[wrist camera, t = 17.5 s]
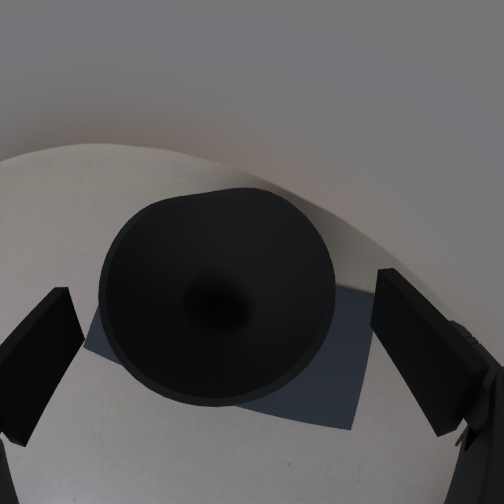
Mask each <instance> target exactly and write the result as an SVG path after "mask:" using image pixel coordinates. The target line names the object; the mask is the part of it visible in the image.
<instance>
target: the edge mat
mask: <svg viewBox="0 0 504 504" xmlns="http://www.w3.org/2000/svg"><path fill="white" fill-rule="evenodd" d="M373 303H374V296H373V295H369V294H365V293H362V292H358V291H354V290H350V289H346V288H342V287H338V286H336V298H335V309H334V314H333V318H332V323H331V326H330V328H329V331H328V333H327V336H326V339H325V340H324V342H323V344H322V346H321V348H320V349H319V351H318V353H317V354H316V356H315V357H314V358H313V360H312V361H311V362H310V363H309V365H308V366H307V367H306V368H305V369H304V370H303V371H302V372H301V373H300V374H299V375H298V376H297V377H296V378H295V379H293V380H292V381H291V382H289V383H288V384H286V385H285V386H283V387H282V388H281V389H279V390H277V391H275V392H273V393H271V394H269V395H267V396H265V397H263V398H260V399H257V400H254V401H251V402H248V403H243V404H239V405H234V406H238V407H241V408H245V409H249V410H253V411H257V412H260V413H265V414H269V415H273V416H277V417H281V418H286V419H291V420H295V421H300V422H305V423H310V424H316V425H321V426H327V427H333V428H340V429H347V430H351V427H352V423H353V420H354V416H355V412H356V408H357V404H358V400H359V396H360V392H361V388H362V383H363V379H364V374H365V370H366V365H367V360H368V355H369V350H370V344H371V339H372V333H373V329H372V328H371V326H370V321H371V315H372V309H373ZM83 347H84V348H86V349H88V350H90V351H92V352H94V353H96V354H98V355H100V356H103V357H105V358H107V359H109V360H111V361H113V362H116V363H118V364H120V365H122V364H121V362H120V361H119V360H118V358H117V357H116V355H115V354H114V352H113V350H112V348H111V346H110V344H109V343H108V341H107V338H106V335H105V332H104V329H103V327H102V322H101V317H100V313H99V305H98V307H97V310H96V313H95V315H94V318H93V321H92V323H91V326H90V329H89V332H88V335H87V337H86V340H85V343H84V346H83ZM122 366H123V365H122Z"/></svg>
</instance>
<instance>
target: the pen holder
mask: <svg viewBox="0 0 504 504" xmlns="http://www.w3.org/2000/svg"><path fill="white" fill-rule="evenodd" d="M335 298H336V285H335V275H334V270H333V265H332V261H331V258H330V255H329V252H328V250H327V247H326V245H325V243H324V241H323V240H322V238H321V236H320V234H319V233H318V231H317V230H316V228H315V227H314V226H313V224H312V223H311V222H310V221H309V220H308V218H307V217H306V216H305V215H304V214H303V213H302V212H301V211H300V210H298V209H297V208H296V207H295V206H294V205H293V204H291V203H290V202H288V201H286V200H285V199H283V198H282V197H280V196H278V195H276V194H273V193H271V192H269V191H265V190H261V189H257V188H232V189H225V190H219V191H213V192H207V193H201V194H193V195H186V196H179V197H174V198H169V199H165V200H161V201H158V202H156V203H153V204H150V205H149V206H147V207H145V208H144V209H142V210H140V211H139V212H138V213H136V214H135V215H134V216H133V217H132V218H131V219H129V220H128V222H127V223H126V224H125V225H124V226H123V227H122V229H121V230H120V231H119V233H118V234H117V236H116V237H115V239H114V241H113V242H112V244H111V246H110V248H109V251H108V253H107V255H106V258H105V261H104V264H103V267H102V271H101V276H100V281H99V293H98V300H99V313H100V317H101V322H102V327H103V329H104V332H105V335H106V338H107V341H108V343H109V344H110V346H111V348H112V350H113V352H114V354H115V355H116V357H117V358H118V360H119V361H120V362H121V364H122V365H123V366H124V368H125V369H126V370H127V371H128V372H129V373H130V374H131V375H132V376H133V377H134V378H135V379H136V380H138V381H139V382H140V383H142V384H143V385H144V386H146V387H147V388H149V389H150V390H152V391H154V392H156V393H158V394H160V395H162V396H164V397H166V398H169V399H172V400H175V401H178V402H181V403H186V404H191V405H196V406H208V407H222V406H234V405H239V404H243V403H248V402H251V401H254V400H257V399H260V398H263V397H265V396H267V395H269V394H271V393H273V392H275V391H277V390H279V389H281V388H282V387H283V386H285V385H286V384H288V383H289V382H291V381H292V380H293V379H295V378H296V377H297V376H298V375H299V374H300V373H301V372H302V371H303V370H304V369H305V368H306V367H307V366H308V365H309V363H310V362H311V361H312V360H313V358H314V357H315V356H316V354H317V353H318V351H319V349H320V348H321V346H322V344H323V342H324V340H325V339H326V336H327V333H328V331H329V328H330V326H331V323H332V318H333V314H334V309H335Z"/></svg>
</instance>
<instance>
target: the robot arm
mask: <svg viewBox="0 0 504 504" xmlns="http://www.w3.org/2000/svg"><path fill="white" fill-rule="evenodd" d="M370 326H371V328H372V329H373V331H374V333H375V334H376V336H377V337H378V339H379V340H380V342H381V343H382V345H383V347H384V348H385V350H386V351H387V353H388V355H389V356H390V358H391V359H392V361H393V363H394V364H395V366H396V367H397V369H398V371H399V372H400V374H401V375H402V377H403V379H404V380H405V382H406V384H407V385H408V387H409V389H410V390H411V392H412V394H413V395H414V397H415V399H416V400H417V402H418V404H419V406H420V407H421V409H422V411H423V412H424V414H425V416H426V418H427V419H428V421H429V423H430V425H431V426H432V428H433V430H434V432H435V433H436V435H437V437H440V436H442V435H445V434H447V433H450V432H452V431H454V430H456V429H457V427H458V426H459V424H460V423H461V421H462V419H463V418H464V419H465V421H466V422H467V424H468V425H467V427H466V428H465V430H464V431H463V433H462V434H461V436H460V437H459V439H458V440H457V442H456V444H455V446H458V445H459V443H460V442H461V441H462V443H461V448H460V452H459V456H458V460H457V464H456V467H455V471H454V474H453V478H452V481H451V484H450V487H449V490H448V493H447V496H446V499H445V502H444V504H504V366H503V367H502V366H501V365H500V364H499V363H498V362H497V361H496V360H495V359H494V358H493V356H491V354H490V353H489V352H488V351H487V350H486V349H485V348H484V347H483V346H482V345H481V344H479V342H478V341H477V340H476V339H475V337H472V334H471V333H470V332H469V331H468V330H467V329H466V328H465V327H463V326H462V325H460V324H458V323H456V322H455V321H453V320H452V321H448V320H447V319H446V318H445V317H444V316H443V315H442V314H441V313H440V312H439V311H438V310H437V309H436V308H435V307H434V306H433V305H432V304H431V303H430V302H429V301H428V300H427V299H426V298H425V297H424V296H423V295H422V294H421V293H420V292H419V291H418V290H417V289H416V288H415V287H414V286H412V285H411V284H410V283H409V282H408V281H407V280H406V279H405V278H404V277H403V276H402V275H401V274H400V273H399V272H398V271H396V270H395V269H394V268H389V269H378V274H377V282H376V289H375V296H374V303H373V309H372V315H371V321H370ZM84 340H85V338H84V335H83V332H82V329H81V327H80V324H79V321H78V318H77V315H76V312H75V309H74V306H73V302H72V299H71V296H70V293H69V289H68V287H55V288H54V289H53V290H52V291H51V292H50V293H49V294H48V295H47V296H46V297H45V298H44V299H43V300H42V301H41V302H40V303H39V304H38V305H37V306H36V307H35V308H34V309H33V310H32V311H31V312H30V313H29V314H28V315H27V316H26V317H25V319H24V320H23V321H22V322H21V323H20V324H19V325H18V326H17V327H16V328H15V329H14V331H13V332H12V333H11V334H10V335H9V336H8V337H7V338H6V340H5V341H4V342H3V343H2V344H1V345H0V434H1V432H3V433H4V434H5V436H6V437H7V438H8V439H9V441H10V442H12V443H15V444H17V445H20V446H23V447H26V445H27V443H28V441H29V439H30V437H31V435H32V433H33V431H34V429H35V427H36V425H37V423H38V421H39V419H40V417H41V415H42V413H43V411H44V409H45V408H46V406H47V404H48V402H49V400H50V398H51V397H52V395H53V393H54V391H55V389H56V388H57V386H58V384H59V382H60V381H61V379H62V377H63V375H64V374H65V372H66V370H67V368H68V367H69V365H70V363H71V362H72V360H73V358H74V357H75V355H76V353H77V352H78V350H79V349H80V347H81V345H82V344H83V342H84ZM0 504H19V501H18V498H17V495H16V492H15V488H14V485H13V482H12V478H11V474H10V470H9V466H8V462H7V458H6V453H5V449H4V444H3V442H2V440H1V439H0Z"/></svg>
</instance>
